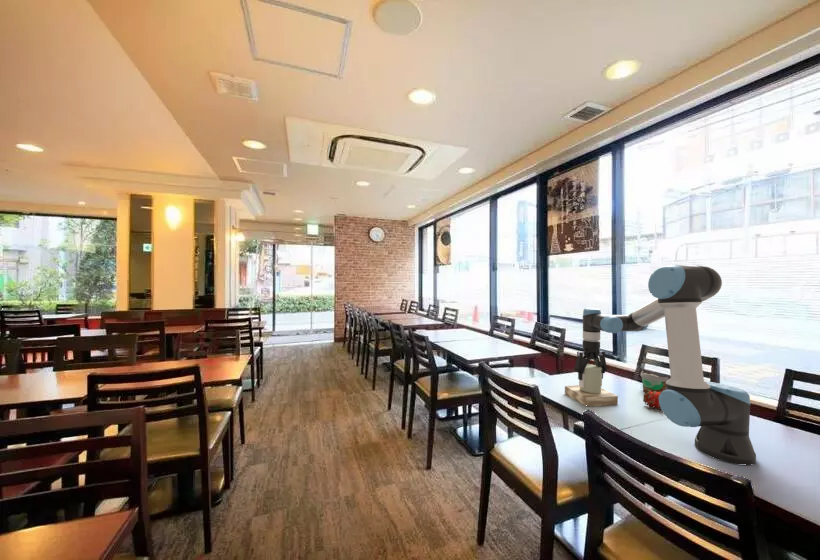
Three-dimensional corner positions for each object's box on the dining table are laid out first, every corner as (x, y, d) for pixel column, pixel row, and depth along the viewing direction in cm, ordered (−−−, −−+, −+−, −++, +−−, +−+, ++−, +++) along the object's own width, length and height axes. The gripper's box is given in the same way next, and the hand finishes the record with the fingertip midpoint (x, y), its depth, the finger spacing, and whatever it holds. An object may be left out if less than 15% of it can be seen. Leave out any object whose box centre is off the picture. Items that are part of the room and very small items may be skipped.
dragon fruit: (639, 409, 150) (666, 414, 149) (651, 405, 143) (680, 410, 142) (635, 391, 155) (661, 395, 154) (647, 386, 148) (674, 390, 147)
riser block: (617, 404, 152) (617, 395, 152) (587, 406, 149) (587, 398, 149) (592, 392, 168) (592, 384, 168) (564, 393, 165) (565, 386, 165)
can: (595, 387, 163) (596, 363, 162) (605, 393, 153) (605, 368, 153) (576, 386, 164) (577, 362, 163) (584, 393, 154) (585, 368, 154)
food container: (634, 390, 170) (635, 371, 170) (641, 389, 173) (642, 370, 173) (661, 399, 159) (661, 378, 159) (668, 397, 162) (668, 377, 161)
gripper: (604, 337, 164) (604, 382, 164) (566, 339, 160) (565, 384, 160) (616, 340, 156) (615, 387, 157) (576, 342, 152) (575, 390, 153)
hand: (590, 386), depth 158 cm, fingers closed on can, 9 cm apart
